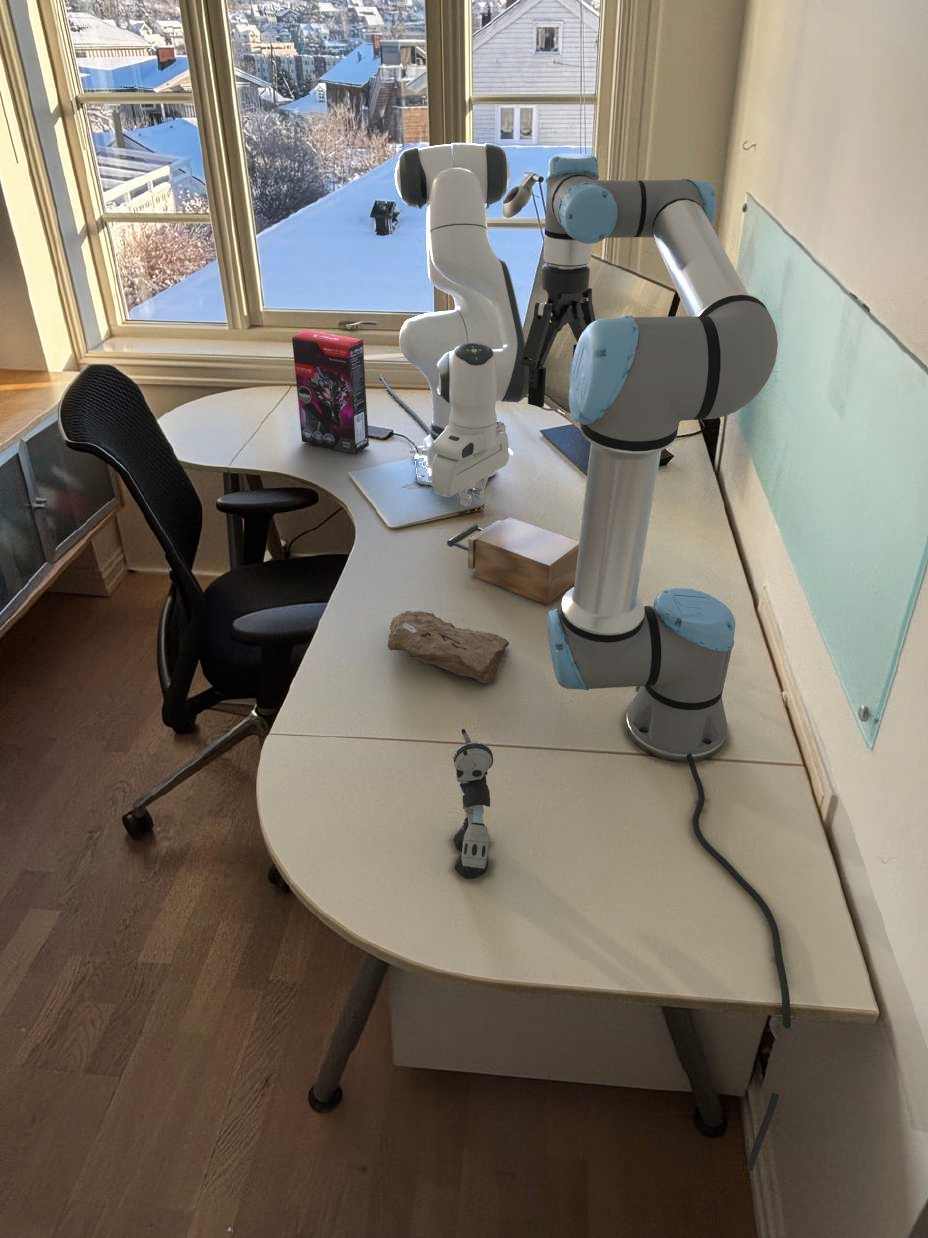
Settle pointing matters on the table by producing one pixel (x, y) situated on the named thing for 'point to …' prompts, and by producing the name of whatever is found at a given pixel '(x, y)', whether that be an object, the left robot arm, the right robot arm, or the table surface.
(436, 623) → the stone
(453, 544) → the drawer
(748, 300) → the right robot arm
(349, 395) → the graphics card box
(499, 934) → the table surface
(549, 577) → the cabinet
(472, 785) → the robot
